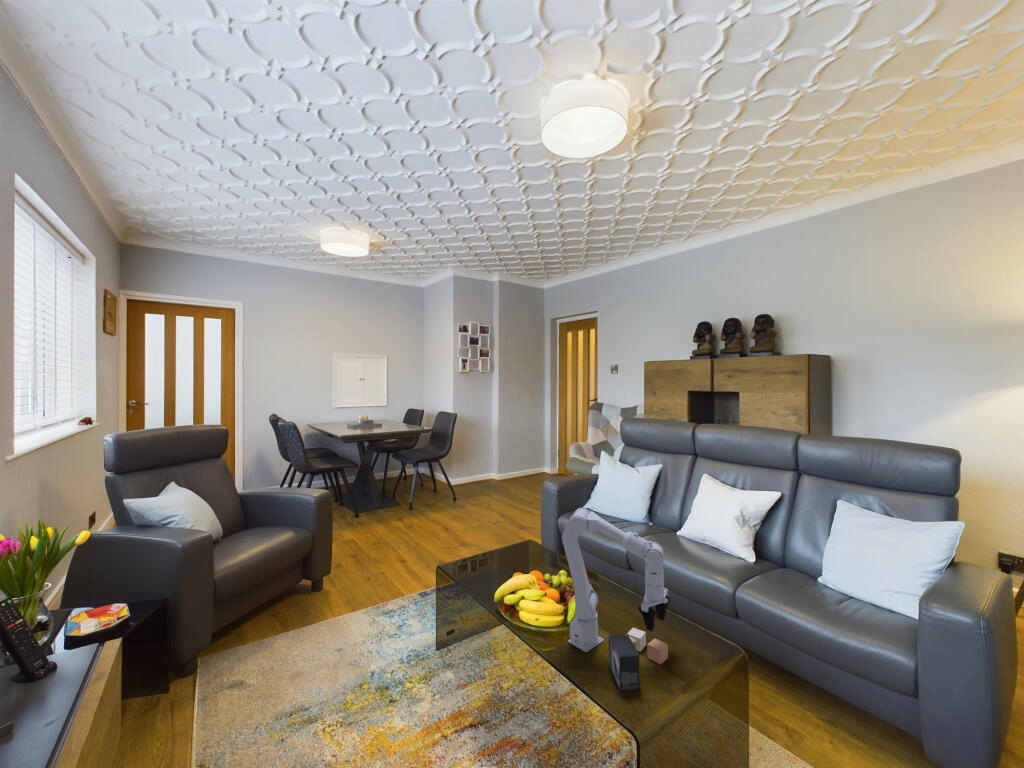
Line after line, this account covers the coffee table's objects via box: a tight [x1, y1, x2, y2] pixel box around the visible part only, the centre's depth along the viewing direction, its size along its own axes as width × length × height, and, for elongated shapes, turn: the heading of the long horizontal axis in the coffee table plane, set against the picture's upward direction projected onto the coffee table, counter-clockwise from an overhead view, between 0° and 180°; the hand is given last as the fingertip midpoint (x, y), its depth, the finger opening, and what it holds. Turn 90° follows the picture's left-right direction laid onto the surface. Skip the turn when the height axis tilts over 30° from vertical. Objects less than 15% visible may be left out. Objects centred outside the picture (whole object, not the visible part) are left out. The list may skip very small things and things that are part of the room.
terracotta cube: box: [646, 638, 669, 665], centre depth 142 cm, size 4×4×4 cm
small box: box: [608, 633, 642, 692], centre depth 133 cm, size 11×6×10 cm, turn 5°
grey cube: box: [626, 627, 647, 653], centre depth 148 cm, size 4×4×4 cm
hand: (655, 624), depth 144 cm, fingers open, 7 cm apart
